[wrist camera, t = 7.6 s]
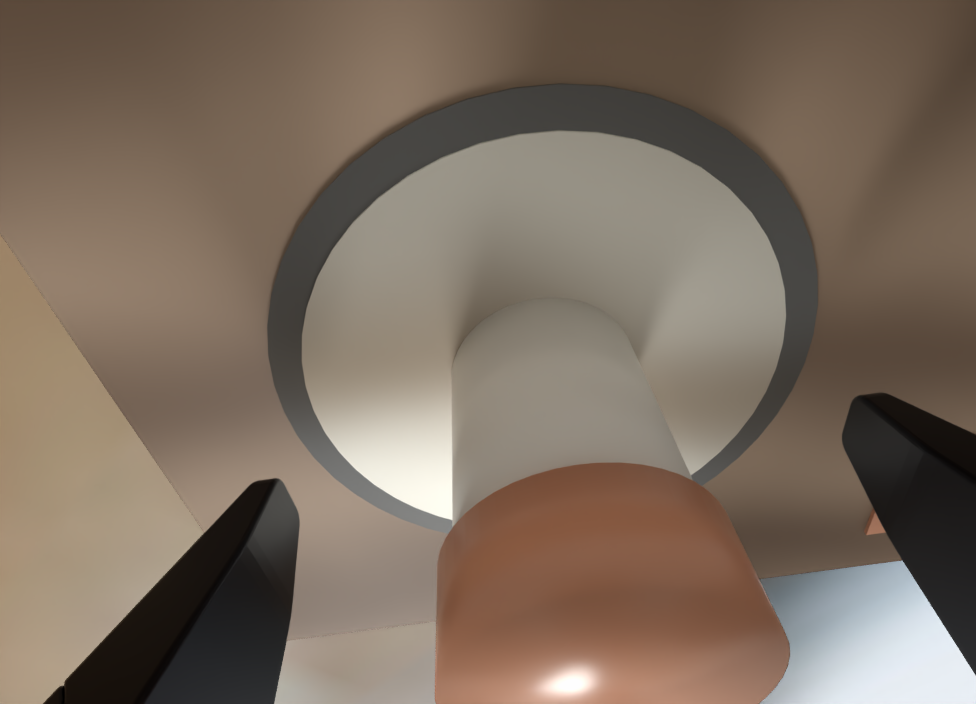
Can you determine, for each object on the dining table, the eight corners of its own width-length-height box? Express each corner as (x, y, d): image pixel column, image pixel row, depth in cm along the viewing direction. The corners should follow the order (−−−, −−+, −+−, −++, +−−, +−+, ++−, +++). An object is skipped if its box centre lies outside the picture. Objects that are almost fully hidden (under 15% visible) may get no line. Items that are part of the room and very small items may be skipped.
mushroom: (643, 435, 12) (764, 740, 7) (459, 462, 12) (466, 775, 7) (646, 271, 10) (822, 558, 5) (421, 305, 10) (397, 616, 5)
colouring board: (1000, 519, 16) (1030, 551, 15) (285, 613, 16) (277, 648, 16) (1534, -387, 6) (1691, -435, 6) (-154, -78, 7) (-231, -81, 6)
